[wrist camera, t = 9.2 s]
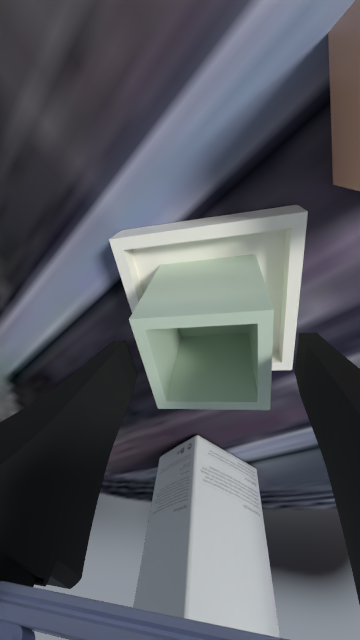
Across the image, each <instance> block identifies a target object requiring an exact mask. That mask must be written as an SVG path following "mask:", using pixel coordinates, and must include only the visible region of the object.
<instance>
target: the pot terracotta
mask: <svg viewBox="0 0 360 640" xmlns="http://www.w3.org/2000/svg"><path fill="white" fill-rule="evenodd" d="M328 40H329V71H330V103H331V134H332V165H333V185H336V186H340V187H344V188H348V189H352V190H356V191H360V0H356V1H355V2H354V3H353V4H352V5H351V7H350V8H349V9H348V10H347V11H346V12H345V14H344V15H343V16H342V17H341V18H340V20H339V21H338V22H337V23H336V24H335V25H334V27H333V28H332V29H331V30H330V31H329V32H328Z"/></svg>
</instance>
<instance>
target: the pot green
mask: <svg viewBox="0 0 360 640" xmlns="http://www.w3.org/2000/svg"><path fill="white" fill-rule="evenodd" d="M129 321H130V324H131V327H132V331H133V334H134V337H135V340H136V343H137V346H138V349H139V352H140V355H141V358H142V361H143V364H144V367H145V370H146V373H147V376H148V380H149V383H150V386H151V389H152V392H153V395H154V398H155V401H156V404H157V407H158V409H227V410H270V398H271V373H272V349H273V325H274V308H273V305H272V302H271V299H270V296H269V293H268V290H267V287H266V284H265V281H264V278H263V275H262V272H261V269H260V266H259V263H258V260H257V257H256V255H255V254H251V255H243V256H234V257H225V258H216V259H207V260H198V261H189V262H180V263H171V264H163V265H160V266H159V268H158V270H157V271H156V273H155V275H154V277H153V278H152V280H151V282H150V284H149V285H148V287H147V289H146V291H145V292H144V294H143V296H142V297H141V299H140V301H139V303H138V304H137V306H136V308H135V310H134V311H133V313H132V315H131V317H130V318H129Z"/></svg>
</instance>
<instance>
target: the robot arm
mask: <svg viewBox="0 0 360 640" xmlns="http://www.w3.org/2000/svg"><path fill="white" fill-rule="evenodd" d="M295 375H296V379H297V384H298V388H299V392H300V396H301V399H302V401H303V404H304V407H305V410H306V412H307V415H308V418H309V420H310V423H311V426H312V428H313V431H314V434H315V436H316V439H317V442H318V444H319V447H320V450H321V452H322V455H323V458H324V461H325V464H326V468H327V472H328V475H329V479H330V483H331V486H332V490H333V494H334V498H335V502H336V506H337V510H338V513H339V517H340V521H341V525H342V529H343V533H344V538H345V542H346V546H347V550H348V555H349V559H350V563H351V567H352V571H353V576H354V581H355V585H356V590H357V594H358V599H359V604H360V369H359V368H358V367H357V366H356V365H354V364H353V363H352V362H351V361H349V360H348V359H347V358H346V357H344V356H343V355H342V354H341V353H340V352H339V351H337V350H336V349H335V348H334V347H333V346H331V345H330V344H329V343H328V342H327V341H326V340H325V339H323V338H322V337H321V336H320V335H319V334H318V333H299V339H298V348H297V357H296V367H295ZM136 379H137V371H136V368H135V365H134V362H133V359H132V357H131V354H130V351H129V348H128V345H127V342H126V341H113V342H112V343H110V344H109V345H108V346H107V347H105V348H104V349H103V350H102V351H100V352H99V353H98V354H97V355H96V356H94V357H93V358H92V359H91V360H90V361H88V362H87V363H86V364H85V365H83V366H82V367H81V368H80V369H79V370H77V371H76V372H75V373H74V374H72V375H71V376H70V377H68V378H67V379H66V380H65V381H63V382H62V383H61V384H59V385H58V386H57V387H55V388H54V389H53V390H51V391H50V392H48V393H47V394H46V395H44V396H43V397H41V398H40V399H38V400H37V401H35V402H34V403H32V404H31V405H29V406H27V407H26V408H24V409H23V410H21V411H19V412H17V413H16V414H14V415H12V416H11V417H9V418H7V419H5V420H4V421H2V422H0V640H35V634H34V632H33V631H37V632H41V633H45V634H49V635H53V636H57V637H61V638H65V639H69V640H288V639H283V638H279V637H274V636H269V635H264V634H259V633H254V632H249V631H244V630H239V629H235V628H230V627H225V626H220V625H215V624H210V623H205V622H200V621H195V620H191V619H186V618H181V617H176V616H171V615H166V614H161V613H156V612H151V611H147V610H142V609H137V608H132V607H126V606H122V605H117V604H112V603H107V602H103V601H97V600H92V599H88V598H82V597H78V596H73V595H68V594H63V593H58V592H53V591H49V590H44V589H39V588H34V587H33V586H34V584H35V585H40V586H46V585H53V586H57V587H62V588H68V589H70V588H72V587H73V586H75V585H76V584H77V583H78V582H79V580H80V579H81V577H82V572H83V566H84V561H85V556H86V551H87V546H88V540H89V536H90V531H91V527H92V522H93V518H94V513H95V509H96V505H97V500H98V496H99V493H100V489H101V485H102V481H103V477H104V474H105V470H106V466H107V463H108V459H109V456H110V453H111V450H112V447H113V444H114V441H115V438H116V436H117V433H118V431H119V428H120V426H121V423H122V421H123V418H124V416H125V413H126V411H127V408H128V405H129V403H130V400H131V397H132V395H133V391H134V387H135V383H136ZM32 630H33V631H32Z"/></svg>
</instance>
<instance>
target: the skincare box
mask: <svg viewBox="0 0 360 640" xmlns="http://www.w3.org/2000/svg"><path fill="white" fill-rule="evenodd" d="M133 608H137V609H142V610H147V611H151V612H156V613H161V614H166V615H171V616H176V617H181V618H186V619H191V620H195V621H200V622H205V623H210V624H215V625H220V626H225V627H230V628H235V629H239V630H244V631H249V632H254V633H259V634H264V635H269V636H274V637H279V638H280V635H279V628H278V621H277V613H276V607H275V599H274V592H273V585H272V578H271V571H270V564H269V556H268V549H267V543H266V535H265V528H264V521H263V513H262V506H261V499H260V492H259V485H258V477H257V469H256V468H254V467H253V466H251V465H249V464H247V463H246V462H244V461H242V460H240V459H239V458H237V457H235V456H233V455H232V454H230V453H228V452H226V451H225V450H223V449H221V448H219V447H218V446H216V445H214V444H212V443H211V442H209V441H207V440H206V439H204V438H202V437H200V436H199V435H196V436H194V437H192V438H191V439H189V440H187V441H185V442H184V443H182V444H180V445H178V446H177V447H175V448H174V449H172V450H170V451H169V452H167V453H165V454H164V455H162V456H161V457H160V459H159V465H158V471H157V476H156V482H155V487H154V493H153V499H152V504H151V510H150V516H149V521H148V527H147V533H146V538H145V543H144V550H143V555H142V562H141V567H140V572H139V579H138V584H137V590H136V595H135V601H134V606H133Z"/></svg>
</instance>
